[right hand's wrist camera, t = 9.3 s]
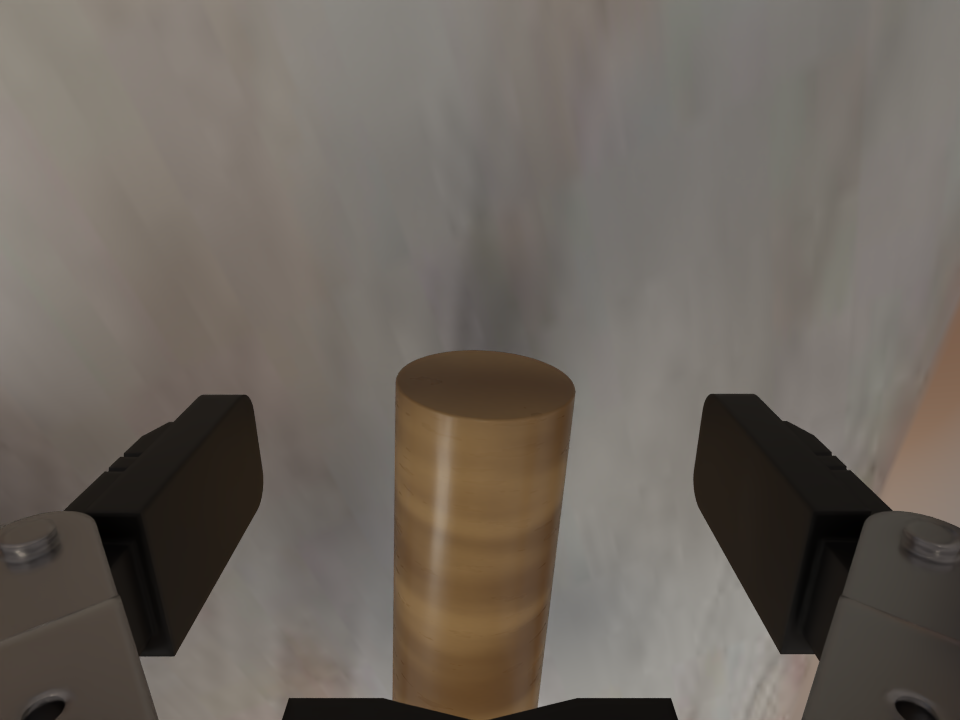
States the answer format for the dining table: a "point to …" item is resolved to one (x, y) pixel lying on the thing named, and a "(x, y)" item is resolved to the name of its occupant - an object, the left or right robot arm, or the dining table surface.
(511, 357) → the rod
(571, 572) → the dining table surface
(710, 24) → the dining table surface
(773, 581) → the right robot arm
